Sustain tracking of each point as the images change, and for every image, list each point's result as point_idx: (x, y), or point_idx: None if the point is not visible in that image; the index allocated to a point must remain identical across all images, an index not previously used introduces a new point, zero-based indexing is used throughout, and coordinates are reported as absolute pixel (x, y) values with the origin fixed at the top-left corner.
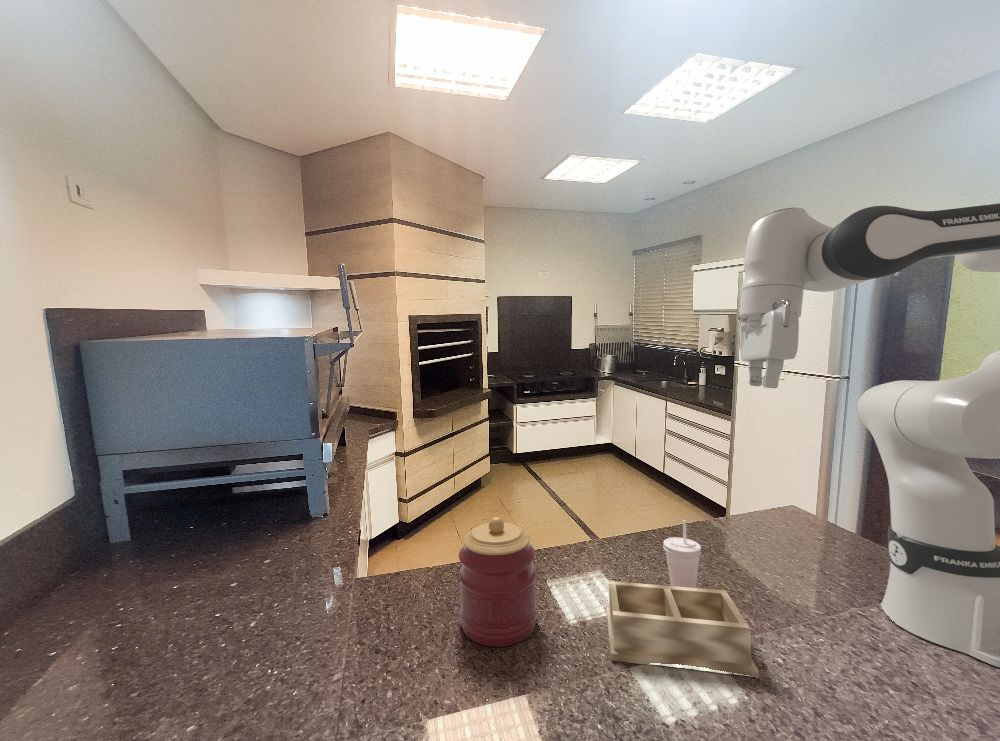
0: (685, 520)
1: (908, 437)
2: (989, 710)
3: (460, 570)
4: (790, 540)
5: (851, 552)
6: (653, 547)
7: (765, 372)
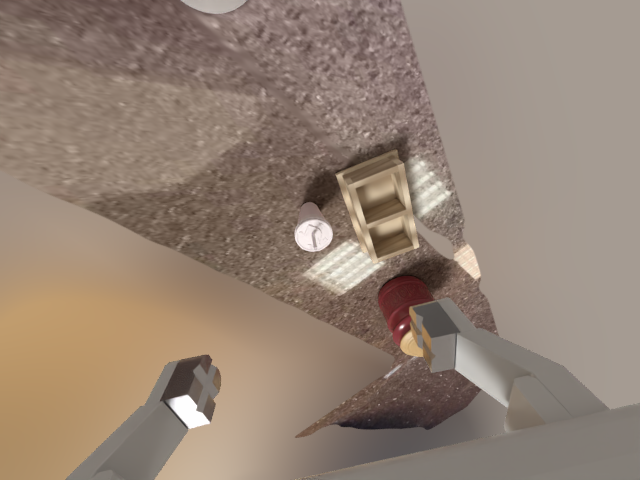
0: (314, 247)
1: None
2: None
3: None
4: (38, 107)
5: None
6: (222, 253)
7: (480, 384)
